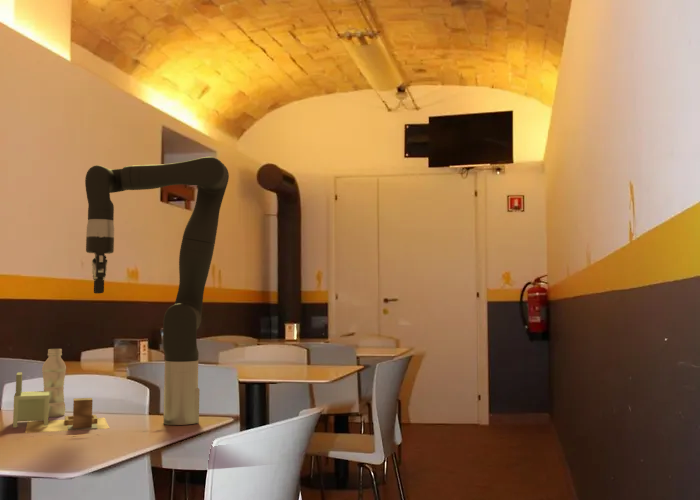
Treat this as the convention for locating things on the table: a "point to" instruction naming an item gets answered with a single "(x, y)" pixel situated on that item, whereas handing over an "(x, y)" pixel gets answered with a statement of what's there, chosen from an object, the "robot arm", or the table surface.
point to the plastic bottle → (54, 382)
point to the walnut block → (82, 412)
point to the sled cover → (30, 404)
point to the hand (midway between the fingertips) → (98, 293)
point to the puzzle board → (63, 425)
